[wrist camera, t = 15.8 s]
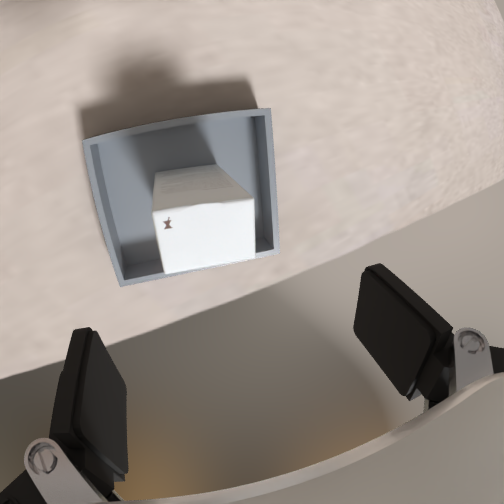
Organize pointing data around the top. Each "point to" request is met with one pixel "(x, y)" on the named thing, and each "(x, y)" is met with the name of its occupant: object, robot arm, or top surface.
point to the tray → (170, 158)
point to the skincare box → (201, 218)
